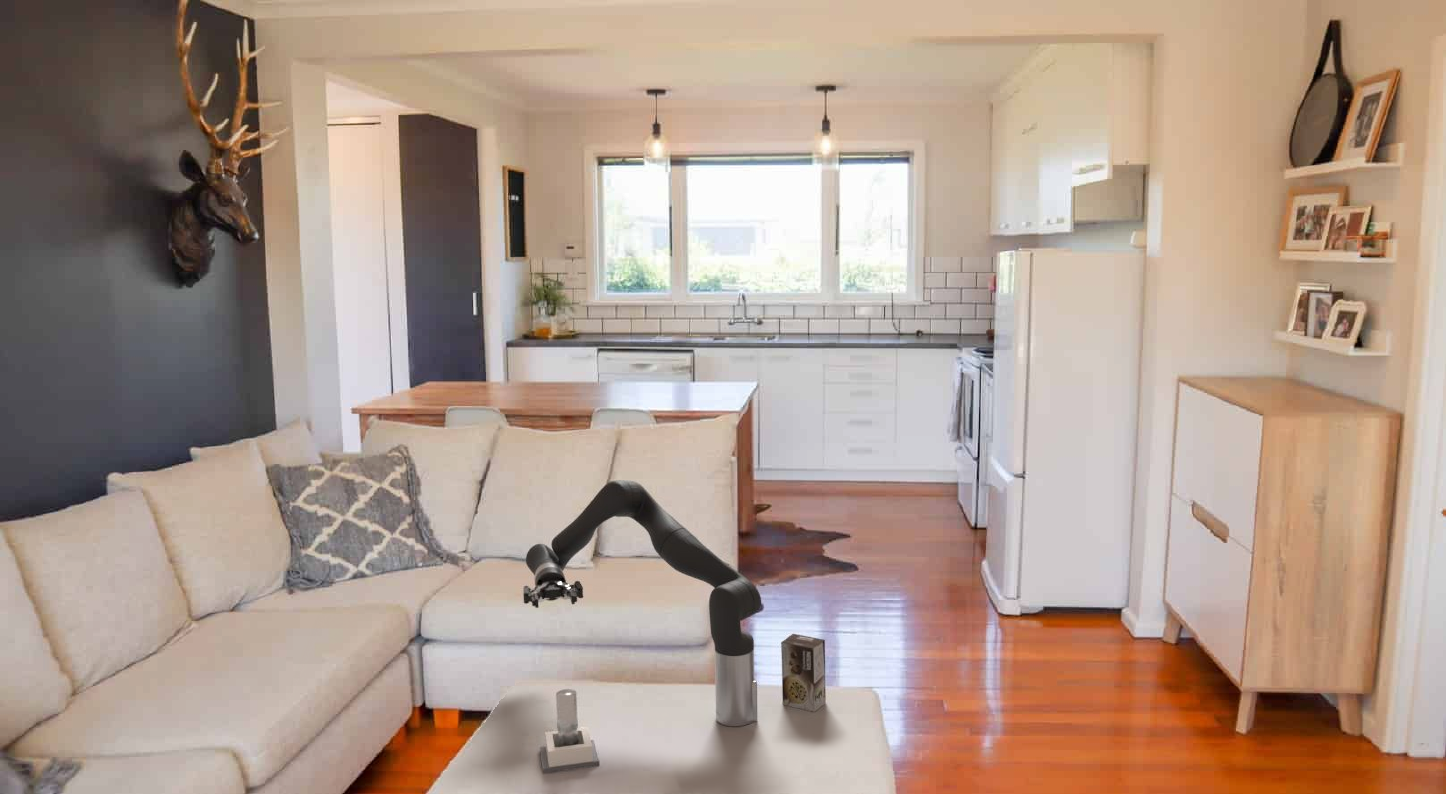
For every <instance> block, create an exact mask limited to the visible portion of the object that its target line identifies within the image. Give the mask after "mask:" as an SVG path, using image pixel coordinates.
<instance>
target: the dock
mask: <svg viewBox="0 0 1446 794" xmlns="http://www.w3.org/2000/svg"><path fill="white" fill-rule="evenodd" d="M544 734H545V735H544V738H545V741H544V742H545V745H544V746H540V747H539V752H540V753H539V754H540V761H541V767H542V773H543V774H547V773H552V772H553V773H554V772H560V771H561V772H562V771H568V770H576V769H584V768H592V767H597V766H600V759H599V756H598V752H597V748H596V743H595V740H594V739H591V735H590V732H589V728H588V726H582V727H578V742H579V745H571V746H564V747H558V729H557V730H552V731H551V730H550V731H545V732H544Z"/></svg>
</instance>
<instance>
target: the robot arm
mask: <svg viewBox="0 0 1446 794" xmlns="http://www.w3.org/2000/svg"><path fill="white" fill-rule="evenodd" d="M613 517H617V518H621V517H622V518H624V517H625V518H631V519H632V520H634V521H635V522H636V523H638V524H639V525H640V526H641V527H643V528H644V529H645V530H646V531H647V534H648V535H649V538H650V541H651V544H652V546H653V549H654V551H655V552H656V553H657V554H658V555H659V557H660V558H661V559H662V560H663V561H664V562H666V563H667V564H668V565H669V566H670V567H671V568H673V569H674V570H675V571H676V572H678V573H681V574H682V575H686V576H688V577H691V578H694V579H697V580H699V581H702V582H704V583H706V584H708V585H710V586H712V587H713V589H712V590H711V592H710V595H709V600H708V612H709V624H710V633H711V639H712V641H713V645H714V671H715V672H714V673H715V674H714V675H715V679H714V681H715V682H714V683H715V685H714V686H715V717H716V721H717V722H718V723H719V724H721V725H724V726H727V727H742V726H747V725H749V724H752V723H753V722H758V720H759V719H758V683H757V680H756V679H755V643H754V642H755V641H754V637H753V636H752V635H751V634H750V633H748V632H747V631H742V628H741V627H742V626H741V625H742V624H741V621H744V620H746V619H748V618H751V617H752V616H754V615H755V614H757V613H758V612H759V610H760V609H761V607H762V597H761V594H760V592H759V590H758V588H757V587H756V586H755V584H753V582H751V581H750V580H749V579H748V578H747V577H746V576H744V575H743V574H741V573H740V572H739V571H737V570H735V569H734V568H732V567H731V566H730V565H729V564H728V563H726V562H724V561H723V560H722V559H721V558H719V556H717V555H716V554H715V553H714V552H712V551H711V549H710V548H707V547H706V546H705V545H704V544H703V543H702V542H701V541H700V540H699V539H698V538H697V537H696V536H695V535H694V534H692V532H690V531H689V530H688V529H687V528H686V527H684V526H683V525H682V524H681V523H680V522H679V521H678V520H676V519H675V518H674V517H673V516H672V515H670V513H668V512H667V511H666V510H665V509H663V508H662V506H661V505H660V504H659V503H658V502H657V501H656V500H655V498H653V496H652V495H651V493H650V492H648V491H647V490H646V488H645V487H644V486H642V485H641V484H640V483H639V482H637V481H634V480H617V479H616V480H612V481H609V482H608V483H606V484H605V485H604V486H603V487H602V488H601V489H600V490H599V492H597V494H596V495H595V496H594V497H593V499H592V500H591V501H590V502H589V503H588V505H587V506H586V507H585V508H584V510H583V511H582V512H581V513H580V514H579V515H578V516H577V517H576V518H575V519H573V521H572V522H571V523H570V524H569V525H568V526H566V527H564V529H562V530H561V531H560V532H559V533H558V534H556V535H555V536H554V537H553V539H552V541H551V548H550V547H549V546H548V545H546V544H545V543H537V544H535V545H533V546H531V547H530V548H529V550H528V551H527V553H526V557H525V564H526V566H527V567H528V569H529V570H530V571H531V573H532V574H533V575H534V586H535V587H534V588H531V587H529V585H524V586H523V592H522V593H523V603H524V604H529V603H531V606H532V607H534V608H535V609H538V608H539V607H540V606H539V603H542V602H544V601H547V602H548V601H549V602H552V601H556V600H558V599H561V600H565V601H566V600H570V602H571V603H570V604H571V605H575V604H576V603H577V602H578V599H583V598H584V586H583V585H582V583H581V581H579V580H575V581H574V582H573V584H569V583H568V582H567V581H566V578H565V573H564V569H565V568H566V566H567V565H568V564H569V562H570V561H571V559H572V558H573V557H574V556H575V555H576V554H578V553H579V552H581V551H582V550H583V549H584V548H585V547H586V546H587V545H588V544H589V543H590V542H591V540H592V539H593V537H594V534H595V533H596V530H597V529H598V527H599V526H601V524H603V523H604V522H607V521H608V520H610V519H612V518H613Z"/></svg>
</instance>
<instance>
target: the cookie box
mask: <svg viewBox="0 0 1446 794" xmlns="http://www.w3.org/2000/svg"><path fill="white" fill-rule="evenodd" d="M780 644H781V645H780V647H781V650H780V651H781V680H782V682H781V683H782V691H781V692H782V694H781V695H782V705H783V706H788V707H791V708H792V707H793V708H797V709H801V710H806V711H810V712H812V713H813V712H817V711H818V710H819V709H820V708H821V707H823V706H824V705H825V704H826V702H827V701H826V695H827V694H826V639H822V638H819V637H812V636H807V635H802V634H796V633H792V634H790V635H789V636H788V637H787V638H786V639H784V640H783V641H781V642H780Z"/></svg>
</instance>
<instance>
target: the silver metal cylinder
mask: <svg viewBox="0 0 1446 794" xmlns="http://www.w3.org/2000/svg"><path fill="white" fill-rule="evenodd" d="M577 699H578V698H577V691H576V690H575V689H570V688H565V689H561V690H558V691H557V692H556V693H555V700H556V701H555V703H556V723H557V727H556V728H557V730H558V747H564V746H571V745H579V742H578V728H579V726H578V725H579V724H578V704H577V703H578V700H577Z"/></svg>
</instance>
